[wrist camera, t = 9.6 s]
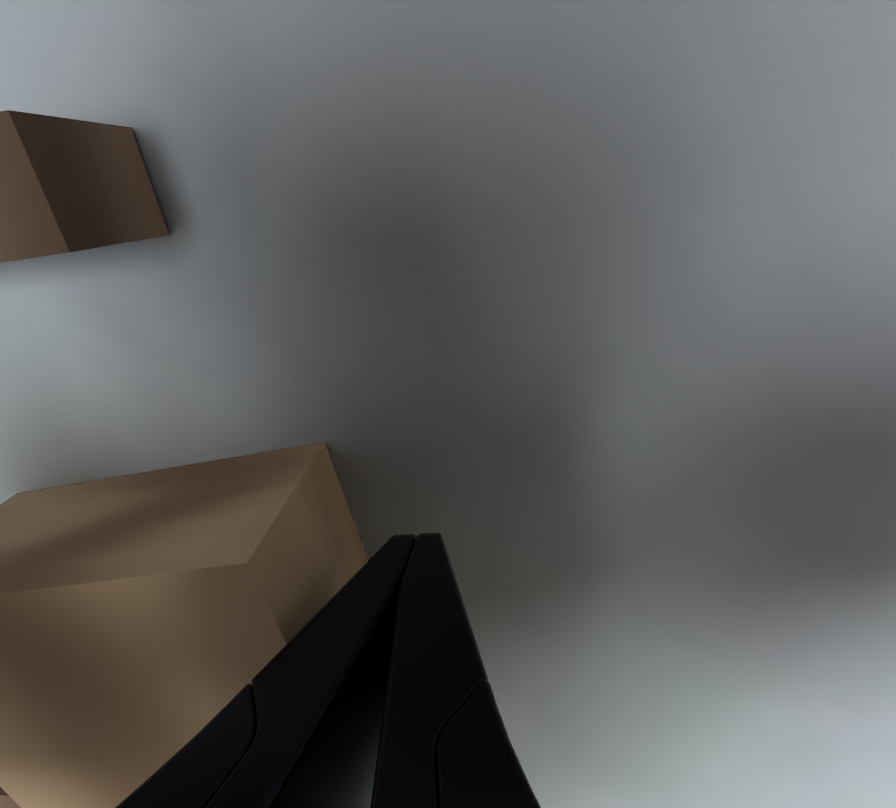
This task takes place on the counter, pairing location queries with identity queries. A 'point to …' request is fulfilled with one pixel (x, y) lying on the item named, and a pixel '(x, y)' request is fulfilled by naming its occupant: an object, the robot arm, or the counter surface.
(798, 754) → the counter surface
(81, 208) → the walnut bay
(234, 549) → the oak block
